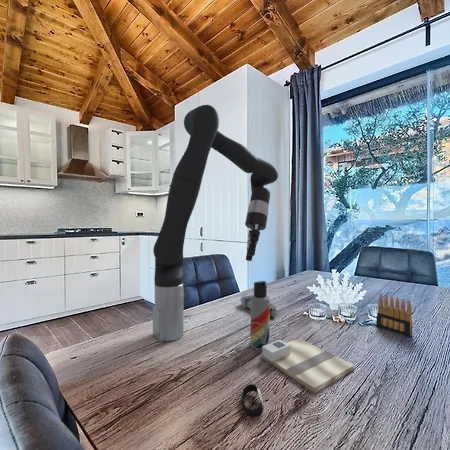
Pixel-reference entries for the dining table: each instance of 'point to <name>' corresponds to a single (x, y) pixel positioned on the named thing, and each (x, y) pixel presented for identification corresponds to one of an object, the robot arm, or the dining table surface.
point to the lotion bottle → (259, 316)
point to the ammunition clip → (394, 316)
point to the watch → (254, 388)
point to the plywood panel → (311, 365)
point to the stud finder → (276, 350)
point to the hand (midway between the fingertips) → (249, 258)
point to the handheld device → (247, 304)
